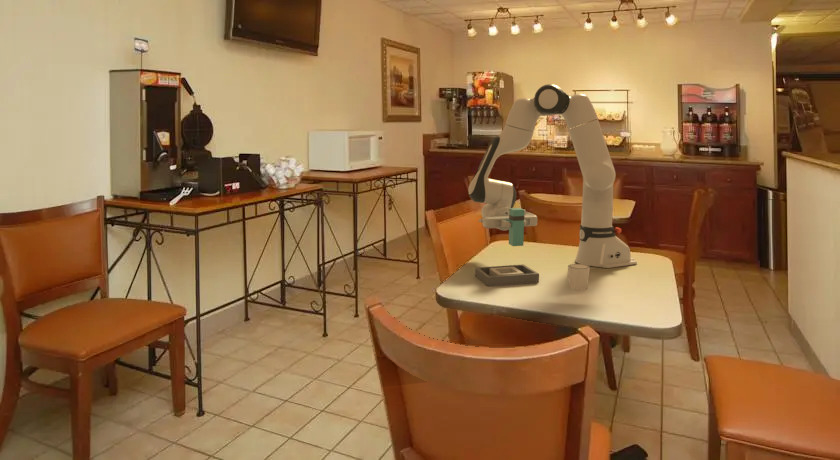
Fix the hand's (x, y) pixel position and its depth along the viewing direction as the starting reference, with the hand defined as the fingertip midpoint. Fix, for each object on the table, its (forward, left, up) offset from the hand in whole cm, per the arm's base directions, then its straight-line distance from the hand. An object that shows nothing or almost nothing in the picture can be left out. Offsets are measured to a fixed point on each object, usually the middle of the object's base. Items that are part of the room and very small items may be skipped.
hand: (517, 224), depth 199 cm
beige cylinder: (-11, +24, -17) cm, 32 cm away
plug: (0, -1, -7) cm, 8 cm away
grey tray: (+8, +10, -17) cm, 21 cm away
